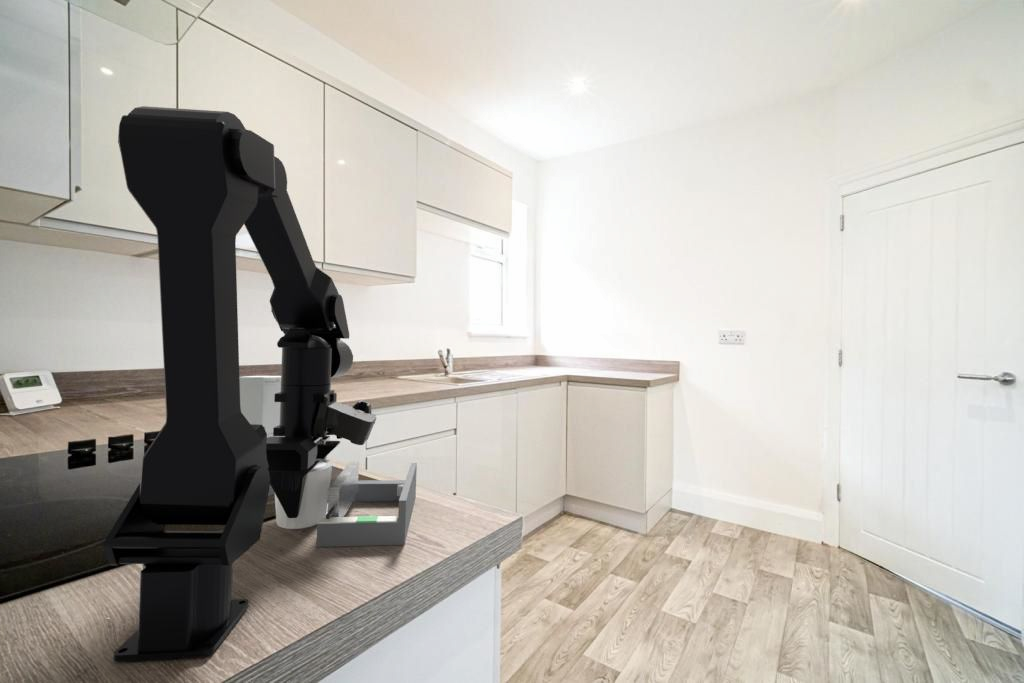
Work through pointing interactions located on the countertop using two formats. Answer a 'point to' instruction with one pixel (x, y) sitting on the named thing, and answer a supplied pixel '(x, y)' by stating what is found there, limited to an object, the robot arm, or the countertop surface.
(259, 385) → the skincare box
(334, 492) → the flat metal bar
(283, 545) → the countertop surface
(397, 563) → the countertop surface
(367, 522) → the frame
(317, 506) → the white tapered cup
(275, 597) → the countertop surface
